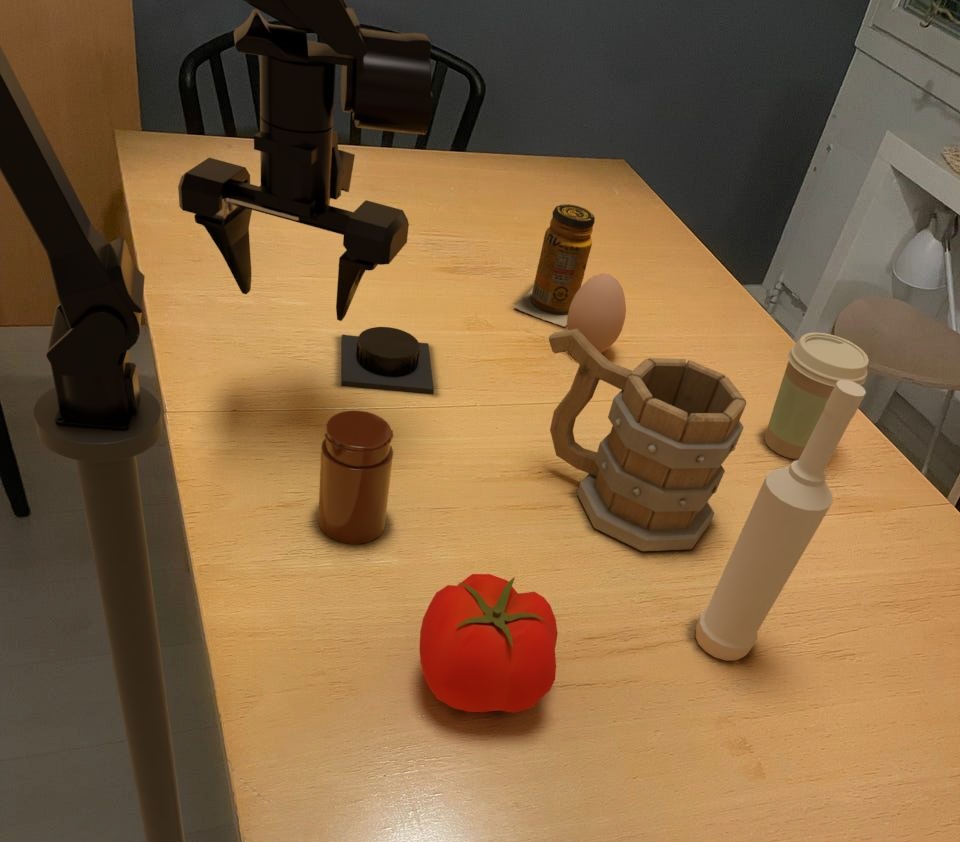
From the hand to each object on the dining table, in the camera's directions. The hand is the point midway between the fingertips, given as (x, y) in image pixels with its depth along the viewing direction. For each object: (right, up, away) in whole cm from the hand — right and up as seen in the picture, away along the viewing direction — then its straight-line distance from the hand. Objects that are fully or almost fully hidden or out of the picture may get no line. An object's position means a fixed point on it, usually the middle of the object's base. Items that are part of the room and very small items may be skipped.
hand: (293, 305), depth 83 cm
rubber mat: (+7, 0, +18) cm, 20 cm away
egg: (+30, +5, +29) cm, 42 cm away
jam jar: (+6, -20, -1) cm, 21 cm away
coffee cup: (+53, -8, +21) cm, 57 cm away
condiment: (+26, +13, +36) cm, 46 cm away
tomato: (+17, -34, -12) cm, 40 cm away
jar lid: (+7, +2, +17) cm, 18 cm away
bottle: (+38, -31, -4) cm, 49 cm away
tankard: (+30, -16, +8) cm, 35 cm away
